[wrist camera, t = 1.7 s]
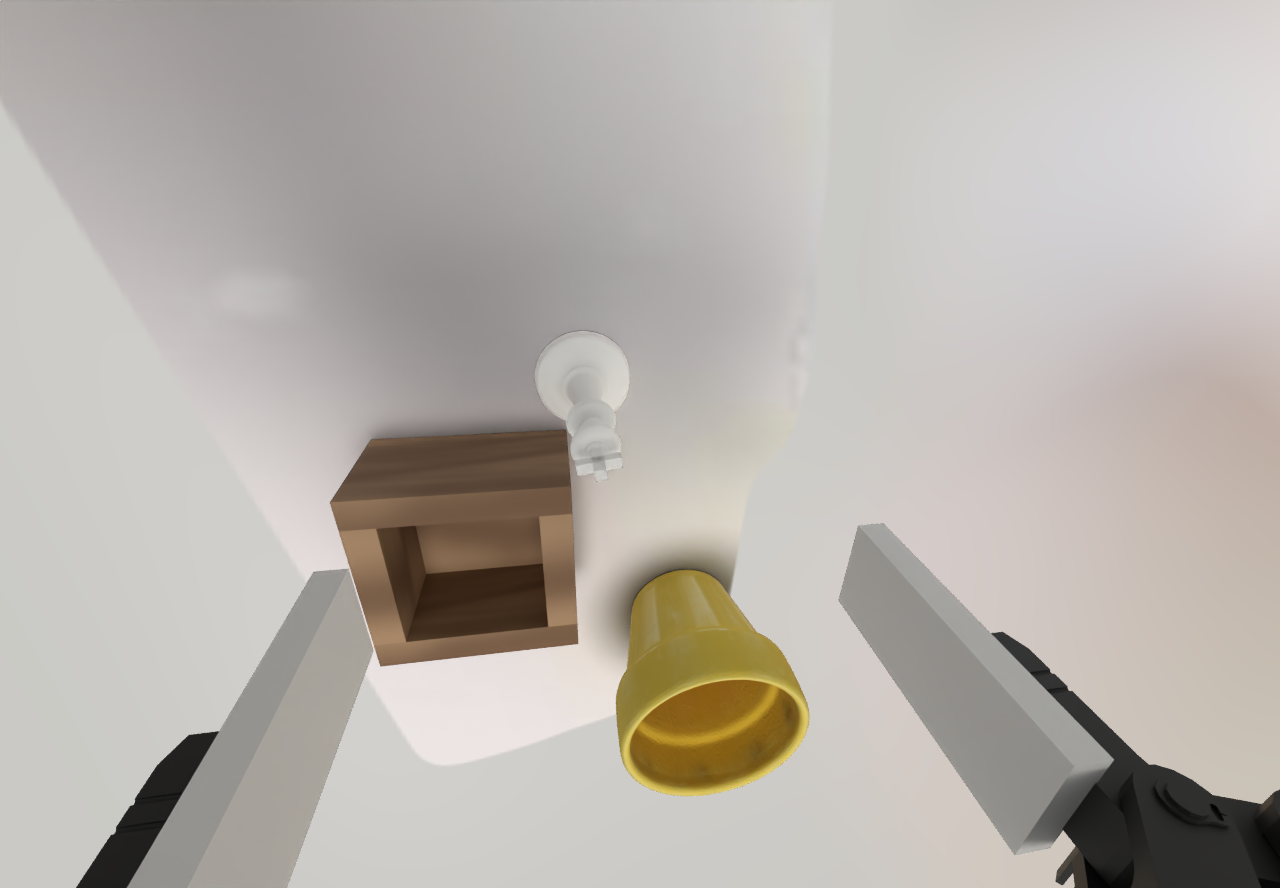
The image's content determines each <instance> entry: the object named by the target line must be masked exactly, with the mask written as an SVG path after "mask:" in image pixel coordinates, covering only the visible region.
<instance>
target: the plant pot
mask: <svg viewBox="0 0 1280 888" xmlns="http://www.w3.org/2000/svg"><path fill="white" fill-rule="evenodd" d="M616 714H617V727H618V736H619V745H620V752H621V757H622V761H623V764H624V766H625V768H626V770H627V771H628V773H629V774H630V775H631V776H632V777H633V778H634V779H635V780H636V781H637V782H639V783H640V784H642V785H643V786H645V787H647V788H649V789H651V790H654V791H657V792H660V793H664V794H669V795H678V796H701V795H709V794H715V793H720V792H723V791H728V790H731V789H735V788H738V787H741V786H744V785H746V784H749V783H750V782H753V781H755V780H757V779H759V778H761V777H763V776H765V775H766V774H768V773H770V772H772V771H773V770H774V769H776V768H777V767H778V766H780V765H781V764H782V763H784V762H785V761H786V760H787V759H788V758H789V757H790V756H791V755H792V754H793V753H794V752H795V751H796V749H797V748H798V747H799V745H800V744H801V742H802V740H803V738H804V737H805V734H806V732H807V728H808V725H809V710H808V705H807V702H806V699H805V697H804V694H803V692H802V690H801V688H800V685H799V683H798V681H797V679H796V677H795V675H794V673H793V671H792V669H791V667H790V666H789V664H788V662H787V660H786V658H785V656H784V655H783V653H782V652H781V650H780V649H779V648H778V646H776V644H775V643H773V642H772V641H771V640H770V639H768V638H767V637H765V636H763V635H762V634H759V633H757V632H756V630H755V629H754V628H753V627H752V625H751V624H750V623H749V621H748V620H747V618H746V617H745V616H744V614H743V613H742V612H741V610H740V609H739V608H738V606H737V605H736V604H735V602H734V601H733V600H732V598H731V597H730V595H729V594H728V593H727V591H726V590H725V589H724V587H723V586H722V585H721V583H720V582H719V581H718V580H716V579H715V578H714V577H713V576H711V575H709V574H706V573H704V572H700V571H696V570H676V571H672V572H669V573H666V574H663V575H661V576H659V577H657V578H655V579H654V580H652V581H651V582H649V583H648V584H647V585H645V586H644V587H643V588H642V589H641V591H640V592H639V593H638V595H637V596H636V598H635V600H634V603H633V607H632V614H631V627H630V639H629V652H628V663H627V670H626V672H625V673H624V675H623V677H622V679H621V681H620V684H619V686H618V690H617V695H616Z"/></svg>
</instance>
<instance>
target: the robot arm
mask: <svg viewBox="0 0 1280 888" xmlns="http://www.w3.org/2000/svg"><path fill="white" fill-rule="evenodd" d="M839 602H840V603H841V605H842V606H843V608H844V609H845V611H846V612H847V613H848V615H849V616H850V618H851V619H852V621H853V622H854V624H855V625H856V626H857V628H858V629H859V631H860V632H861V634H862V635H863V637H864V638H865V639H866V641H867V642H868V644H869V645H870V647H871V648H872V650H873V651H874V653H875V654H876V655H877V657H878V658H879V660H880V661H881V663H882V664H883V665H884V667H885V668H886V670H887V671H888V673H889V674H890V676H891V677H892V679H893V680H894V681H895V683H896V684H897V686H898V687H899V689H900V690H901V691H902V693H903V694H904V696H905V697H906V699H907V700H908V702H909V703H910V705H911V706H912V707H913V709H914V710H915V712H916V713H917V715H918V716H919V717H920V719H921V720H922V722H923V723H924V725H925V726H926V728H927V729H928V731H929V732H930V733H931V735H932V736H933V738H934V739H935V741H936V742H937V743H938V745H939V746H940V748H941V749H942V751H943V752H944V754H945V755H946V757H947V758H948V759H949V761H950V762H951V764H952V765H953V767H954V768H955V770H956V771H957V773H958V774H959V775H960V777H961V778H962V780H963V781H964V783H965V784H966V786H967V787H968V788H969V790H970V791H971V793H972V794H973V796H974V797H975V799H976V800H977V801H978V803H979V804H980V806H981V807H982V809H983V810H984V812H985V813H986V814H987V816H988V817H989V819H990V820H991V822H992V823H993V824H994V826H995V828H996V829H997V830H998V832H999V833H1000V835H1001V836H1002V837H1003V839H1004V841H1005V842H1006V843H1007V845H1008V846H1009V848H1010V849H1011V851H1012V852H1013V853H1014V855H1018V854H1023V853H1028V852H1033V851H1038V850H1043V849H1048V848H1050V847H1051V846H1052V845H1053V843H1054V842H1055V840H1056V839H1057V838H1058V836H1059V835H1060V834H1061V832H1062V831H1063V830H1064V832H1065V833H1066V834H1067V835H1068V837H1069V838H1070V839H1071V840H1072V842H1073V843H1074V844H1075V845H1076V847H1075V848H1074V849H1073V851H1072V852H1071V853H1070V855H1069V856H1068V857H1067V859H1066V860H1065V861H1064V863H1063V864H1062V865H1061V866H1060V868H1059V869H1058V870H1057V875H1056V882H1057V883H1059V884H1061V885H1063V884H1064V883H1065V882H1066V881H1067V879H1068V878H1069V877H1070V876H1071V874H1072V873H1073V875H1074V882H1075V887H1074V888H1280V790H1278V791H1276V792H1274V793H1273V794H1272V795H1271V796H1270V797H1269V798H1268V799H1267V800H1266V801H1265V802H1264V803H1263V804H1258V803H1252V802H1247V801H1242V800H1236V799H1231V798H1225V797H1220V796H1214V795H1212V794H1210V793H1209V792H1208V791H1206V790H1205V789H1204V788H1203V787H1201V786H1199V785H1198V784H1197V783H1196V782H1194V781H1193V780H1191V779H1189V778H1187V777H1186V776H1184V775H1182V774H1180V773H1178V772H1176V771H1174V770H1171V769H1168V768H1164V767H1161V766H1158V765H1149V764H1147V763H1146V762H1145V761H1144V760H1143V759H1142V758H1141V757H1139V756H1138V755H1137V754H1136V753H1135V752H1134V751H1133V750H1132V749H1131V748H1130V747H1129V746H1128V745H1127V744H1126V743H1125V742H1124V741H1123V740H1122V739H1121V738H1120V737H1119V736H1118V735H1116V733H1114V731H1113V730H1112V729H1110V728H1109V727H1108V726H1107V725H1106V724H1105V723H1104V722H1103V721H1102V720H1101V719H1100V718H1099V717H1098V716H1097V715H1096V714H1095V713H1094V712H1093V711H1092V710H1091V709H1090V708H1089V707H1088V706H1087V705H1086V704H1085V703H1084V702H1083V701H1082V700H1081V699H1080V698H1079V697H1078V696H1077V695H1076V694H1075V693H1074V692H1073V691H1069V690H1068V688H1067V686H1066V685H1065V684H1064V683H1063V682H1062V681H1061V680H1060V679H1059V678H1058V677H1057V676H1056V675H1055V674H1052V673H1051V672H1050V669H1049V668H1048V667H1047V666H1046V665H1045V664H1044V663H1043V662H1042V661H1041V660H1040V659H1039V658H1038V657H1037V656H1036V655H1035V654H1034V653H1032V652H1031V650H1030V649H1028V648H1027V647H1025V646H1024V645H1022V644H1021V643H1019V642H1018V641H1016V640H1014V639H1013V638H1011V637H1010V636H1008V635H1006V634H1005V633H1003V632H998V633H990V632H989V631H988V630H987V629H986V628H985V627H984V626H983V625H982V624H981V623H980V622H979V621H978V620H977V619H976V618H975V617H974V616H973V615H972V613H970V611H969V610H968V609H967V608H966V607H965V606H964V605H963V604H962V603H961V602H960V601H959V600H958V599H957V598H956V597H955V596H954V595H953V594H952V593H951V592H950V591H949V590H948V589H947V588H946V587H945V586H944V585H943V584H942V583H941V582H940V581H939V580H938V579H937V578H936V577H935V576H934V575H933V574H932V573H931V572H930V570H929V569H928V568H927V567H926V566H924V564H923V563H922V562H921V561H920V560H919V559H918V558H917V557H916V556H915V555H914V554H913V553H912V552H911V551H910V550H909V549H908V548H907V547H906V546H905V545H904V544H903V543H902V542H901V541H900V540H899V539H898V538H897V537H896V536H895V535H894V534H893V533H892V532H891V531H890V529H888V527H887V526H886V525H885V524H883V523H882V524H871V525H859V526H858V528H857V532H856V536H855V540H854V543H853V547H852V551H851V555H850V558H849V563H848V567H847V570H846V574H845V577H844V581H843V585H842V589H841V593H840V596H839ZM372 653H373V648H372V644H371V641H370V638H369V634H368V631H367V628H366V625H365V621H364V618H363V615H362V611H361V608H360V605H359V602H358V598H357V595H356V592H355V589H354V585H353V582H352V579H351V575H350V572H349V569H341V570H329V571H317V572H313V574H312V575H311V577H310V579H309V580H308V582H307V584H306V586H305V587H304V589H303V591H302V592H301V594H300V596H299V597H298V599H297V601H296V602H295V604H294V606H293V608H292V609H291V611H290V613H289V614H288V616H287V618H286V620H285V621H284V623H283V625H282V626H281V628H280V630H279V631H278V633H277V635H276V636H275V638H274V640H273V641H272V643H271V645H270V647H269V648H268V650H267V652H266V653H265V655H264V657H263V658H262V660H261V662H260V664H259V665H258V667H257V668H256V670H255V672H254V674H253V675H252V677H251V679H250V680H249V682H248V684H247V686H246V687H245V689H244V690H243V692H242V694H241V696H240V697H239V699H238V701H237V702H236V704H235V706H234V708H233V709H232V711H231V713H230V714H229V716H228V718H227V719H226V721H225V723H224V724H223V726H222V728H221V729H220V731H217V732H210V733H201V734H194V735H189V736H187V737H186V738H185V739H184V740H183V741H182V742H181V743H180V744H179V745H178V746H177V747H176V748H175V749H174V750H173V751H172V752H171V753H170V754H169V755H167V756H166V757H165V758H164V759H163V760H162V761H161V762H160V763H159V764H158V765H157V767H156V768H155V769H154V771H153V772H152V774H151V775H150V777H149V778H148V780H147V781H146V783H145V785H144V786H143V788H142V789H141V790H140V792H139V794H138V795H137V797H136V798H135V803H134V805H132V806H130V807H129V809H128V810H127V812H126V813H125V815H124V816H123V818H122V820H121V821H120V822H119V824H118V825H117V827H116V832H115V834H114V835H111V836H110V838H109V839H108V840H107V842H106V843H105V845H104V847H103V848H102V849H101V851H100V852H99V854H98V855H97V857H96V859H95V860H94V861H93V863H92V865H91V866H90V868H89V869H88V871H87V872H86V874H85V875H84V877H83V878H82V880H81V881H80V883H79V884H78V886H77V887H76V888H287V886H288V883H289V881H290V877H291V875H292V872H293V870H294V867H295V864H296V862H297V859H298V856H299V853H300V851H301V848H302V845H303V842H304V839H305V837H306V834H307V831H308V829H309V826H310V823H311V820H312V818H313V815H314V812H315V810H316V806H317V804H318V801H319V799H320V796H321V793H322V790H323V788H324V785H325V782H326V779H327V777H328V774H329V771H330V768H331V766H332V763H333V760H334V758H335V755H336V752H337V749H338V747H339V744H340V741H341V738H342V735H343V733H344V730H345V727H346V725H347V722H348V719H349V716H350V714H351V711H352V708H353V705H354V703H355V700H356V697H357V695H358V692H359V689H360V686H361V684H362V681H363V678H364V675H365V673H366V670H367V667H368V664H369V662H370V659H371V656H372Z"/></svg>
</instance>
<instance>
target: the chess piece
mask: <svg viewBox="0 0 1280 888" xmlns="http://www.w3.org/2000/svg"><path fill="white" fill-rule="evenodd" d="M535 384H536V388H537V391H538V394H539V396H540V399H541V400H542V402H543V404H544V405H545V406H546V408H547V409H548V410H549V411H550V412H551V413H553V414H554V415H555V416H557V417H558V418H560V419H562V420H565V421H566V426H567V430H568V432H569V434H570V435H571V436H572V437H573V438H572V440H571V444H570V453H571V456H572V458H573V460H574V461H575V466H576V471H577V475H578V476H581V475H587V474H592V473H595V478H596V482H599V481H604V480H608V475H607V471H608V470H613V469H618V468H623V463H622V457H621V451H622V442H621V439H620V437H619V435H618V433H617V432H616V431H615V430H614V429H615V426H616V416H615V413H614V412H615V411H616V410H617V409H618V408H619V407H620V406H621V405H622V403H623V402H624V400H625V398H626V396H627V393H628V390H629V385H630V370H629V365H628V361H627V359H626V357H625V355H624V353H623V352H622V350H621V349H620V348H619V346H618V345H617V344H616V343H614V342H613V341H612V340H611V339H609V338H607V337H606V336H604V335H601V334H599V333H595V332H590V331H575V332H570V333H567V334H564V335H562V336H560V337H558V338H556V339H555V340H553V341H552V342H551V343H550V344H549V345H548V346H547V347H546V348H545V349H544V350H543V352H542V353H541V355H540V357H539V359H538V361H537V364H536V368H535Z"/></svg>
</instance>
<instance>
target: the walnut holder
mask: <svg viewBox="0 0 1280 888" xmlns="http://www.w3.org/2000/svg"><path fill="white" fill-rule="evenodd" d="M330 504H331V508H332V511H333V514H334V517H335V521H336V524H337V527H338V530H339V534H340V537H341V540H342V543H343V547H344V550H345V553H346V556H347V559H348V563H349V566H350V569H351V572H352V576H353V579H354V582H355V585H356V589H357V592H358V595H359V598H360V602H361V605H362V608H363V611H364V615H365V618H366V621H367V624H368V628H369V631H370V634H371V637H372V641H373V644H374V647H375V650H376V653H377V657H378V660H379V663H380V666H388V665H397V664H406V663H415V662H424V661H432V660H441V659H450V658H459V657H468V656H476V655H485V654H494V653H503V652H512V651H520V650H529V649H538V648H547V647H556V646H564V645H573V644H578V629H577V607H576V586H575V565H574V543H573V522H572V500H571V482H570V470H569V458H568V445H567V433H566V430H551V431H531V432H511V433H492V434H472V435H452V436H432V437H412V438H392V439H372V440H370V442H369V443H368V445H367V446H366V448H365V450H364V451H363V453H362V454H361V456H360V457H359V459H358V460H357V462H356V463H355V465H354V466H353V468H352V469H351V471H350V473H349V474H348V476H347V477H346V479H345V480H344V482H343V483H342V485H341V486H340V488H339V489H338V491H337V492H336V494H335V496H334V497H333V499H332V500H331V502H330Z"/></svg>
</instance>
